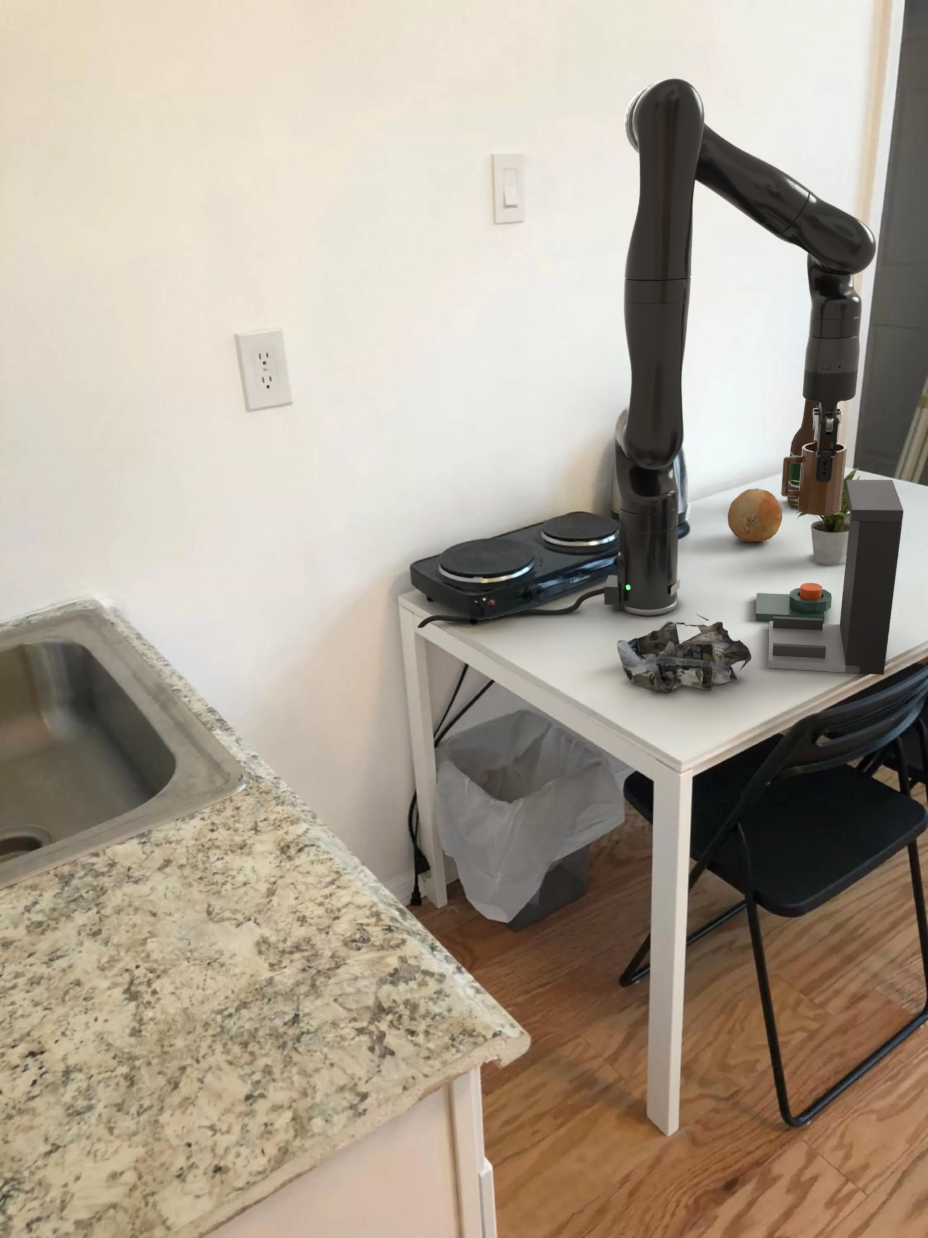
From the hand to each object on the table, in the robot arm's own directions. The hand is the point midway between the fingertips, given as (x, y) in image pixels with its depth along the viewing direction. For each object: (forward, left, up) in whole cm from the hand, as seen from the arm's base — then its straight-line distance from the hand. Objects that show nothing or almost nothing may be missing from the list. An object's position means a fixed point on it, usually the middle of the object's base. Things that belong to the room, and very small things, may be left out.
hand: (822, 473), depth 146 cm
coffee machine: (0, -22, -20) cm, 30 cm away
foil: (-19, -33, -20) cm, 43 cm away
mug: (-1, 0, -6) cm, 6 cm away
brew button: (-1, -10, -17) cm, 19 cm away
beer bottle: (0, +44, -20) cm, 48 cm away
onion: (-10, +22, -20) cm, 31 cm away
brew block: (-4, -9, -20) cm, 22 cm away
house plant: (+3, +15, -20) cm, 25 cm away
